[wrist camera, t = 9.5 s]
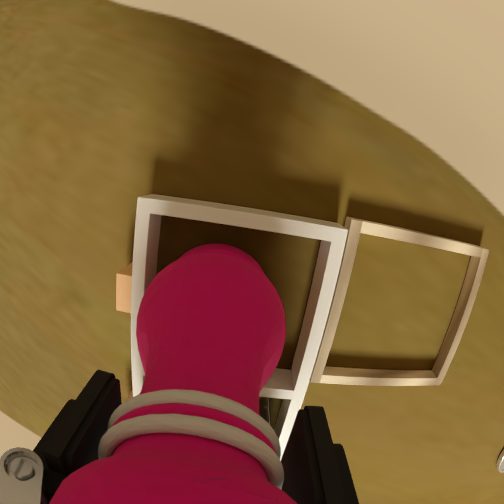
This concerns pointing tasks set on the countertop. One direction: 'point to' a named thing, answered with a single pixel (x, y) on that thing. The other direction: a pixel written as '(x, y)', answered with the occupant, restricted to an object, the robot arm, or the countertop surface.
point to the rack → (330, 233)
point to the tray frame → (454, 331)
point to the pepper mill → (195, 392)
